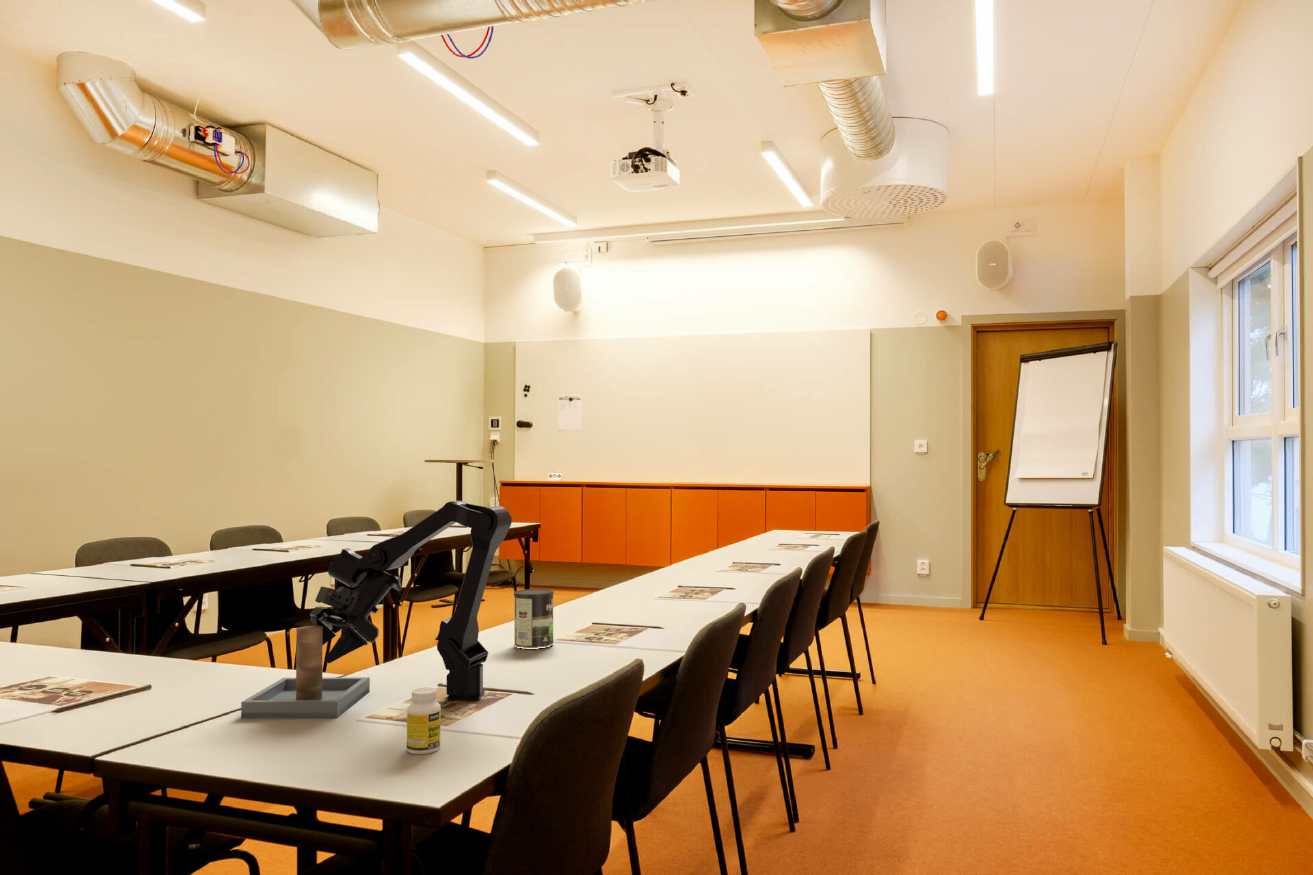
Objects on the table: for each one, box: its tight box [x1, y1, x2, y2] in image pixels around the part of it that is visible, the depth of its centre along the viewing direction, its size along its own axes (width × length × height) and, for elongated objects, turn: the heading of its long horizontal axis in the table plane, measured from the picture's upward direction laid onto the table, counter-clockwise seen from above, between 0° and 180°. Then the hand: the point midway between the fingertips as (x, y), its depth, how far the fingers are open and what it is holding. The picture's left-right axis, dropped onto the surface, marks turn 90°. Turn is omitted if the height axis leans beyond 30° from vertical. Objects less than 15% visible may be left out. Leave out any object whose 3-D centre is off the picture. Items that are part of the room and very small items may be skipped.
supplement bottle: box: [406, 687, 442, 755], centre depth 141 cm, size 5×5×10 cm
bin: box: [240, 676, 371, 719], centre depth 168 cm, size 18×18×3 cm
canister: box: [295, 625, 324, 700], centre depth 168 cm, size 5×5×14 cm
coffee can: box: [513, 588, 555, 648], centre depth 221 cm, size 10×10×14 cm
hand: (315, 658), depth 169 cm, fingers open, 9 cm apart
